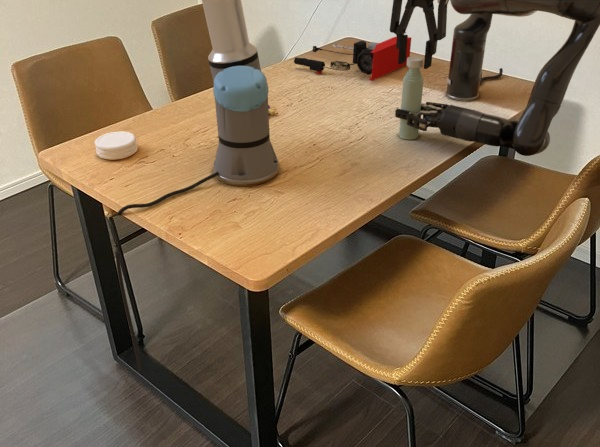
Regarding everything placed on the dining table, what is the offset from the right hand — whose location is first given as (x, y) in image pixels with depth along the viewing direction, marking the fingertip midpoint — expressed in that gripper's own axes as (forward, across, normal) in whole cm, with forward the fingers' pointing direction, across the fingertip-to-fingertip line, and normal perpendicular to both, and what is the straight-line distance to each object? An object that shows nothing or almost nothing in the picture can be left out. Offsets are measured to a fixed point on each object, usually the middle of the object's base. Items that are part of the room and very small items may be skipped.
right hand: (401, 109), depth 159 cm
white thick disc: (+53, +49, +7) cm, 73 cm away
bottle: (-3, 0, +7) cm, 7 cm away
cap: (-3, 0, -13) cm, 14 cm away
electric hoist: (+39, -40, +7) cm, 56 cm away
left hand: (-3, 0, -12) cm, 12 cm away
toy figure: (+41, +9, +7) cm, 43 cm away
